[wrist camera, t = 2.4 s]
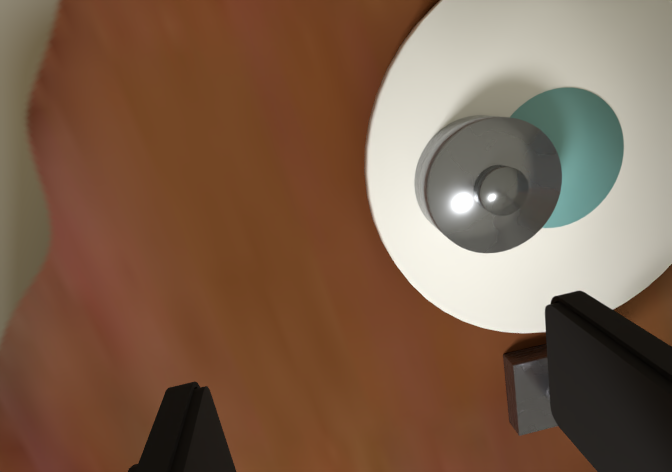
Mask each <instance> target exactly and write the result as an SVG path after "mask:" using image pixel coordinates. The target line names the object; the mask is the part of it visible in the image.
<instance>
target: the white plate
mask: <svg viewBox="0 0 672 472" xmlns="http://www.w3.org/2000/svg"><path fill="white" fill-rule="evenodd" d="M475 115H487V116H499V117H509V118H516V119H520V120H523V121H526V122H528V123H530V124H532V125H534V126H536V127H537V128H539V129H540V130H541V131H542V132H543V133H544V134H546V135H547V137H548V138H549V139H550V140H551V142H552V143H553V145H554V147H555V149H556V151H557V153H558V156H559V159H560V163H561V169H562V185H561V192H560V195H559V199H558V202H557V204H556V207H555V209H554V211H553V213H552V215H551V217H550V218H549V219H548V221H547V222H546V224H545V225H544V226H543V227H542V228H541V229H540V231H538V232H537V233H536V234H535V235H534V236H533V237H532V238H530V239H529V240H527V241H526V242H524V243H523V244H521V245H519V246H517V247H515V248H512V249H510V250H506V251H503V252H497V253H477V252H473V251H469V250H466V249H464V248H461V247H460V246H458V245H456V244H454V243H453V242H452V241H451V240H449V239H448V238H447V237H446V236H445V235H443V234H442V233H441V232H440V231H439V230H438V229H437V228H435V227H434V226H433V225H432V224H431V223H430V222H429V221H428V220H427V219H426V217H425V216H424V214H423V213H422V211H421V209H420V207H419V205H418V202H417V199H416V194H415V186H414V181H415V172H416V167H417V164H418V160H419V158H420V156H421V154H422V151H423V150H424V148H425V147H426V145H427V144H428V142H429V141H430V140H431V139H432V137H433V136H434V135H435V134H436V133H437V132H438V131H440V130H441V129H442V128H444V127H445V126H447V125H448V124H450V123H452V122H454V121H456V120H458V119H461V118H464V117H468V116H475ZM364 173H365V183H366V192H367V198H368V202H369V206H370V210H371V214H372V219H373V221H374V224H375V226H376V229H377V231H378V234H379V236H380V239H381V241H382V242H383V244H384V246H385V248H386V249H387V251H388V253H389V255H390V256H391V258H392V260H393V261H394V262H395V264H396V265H397V267H398V268H399V269H400V270H401V272H402V273H403V274H404V276H405V277H406V278H407V279H408V281H409V282H410V283H411V284H412V285H413V286H414V287H415V288H416V289H417V290H418V291H419V292H420V293H421V294H422V295H423V296H424V297H425V298H426V299H427V300H429V301H430V302H431V303H433V304H434V305H436V306H437V307H438V308H440V309H441V310H443V311H444V312H446V313H448V314H450V315H452V316H454V317H456V318H458V319H460V320H462V321H464V322H467V323H470V324H473V325H476V326H478V327H481V328H486V329H491V330H496V331H501V332H512V333H536V332H546V326H545V307H546V306H547V305H549V304H551V300H552V298H553V297H554V296H558V295H562V294H566V293H571V292H575V291H583V292H585V293H587V294H588V295H590V296H591V297H593V298H595V299H596V300H598V301H599V302H601V303H603V304H604V305H606V306H607V307H609V308H611V309H612V310H613V309H615V308H617V307H618V306H620V305H622V304H624V303H625V302H627V301H628V300H630V299H631V298H633V297H634V296H636V295H637V294H638V293H640V292H641V291H643V290H644V289H645V288H646V287H648V286H649V285H650V284H651V283H652V282H653V281H654V280H656V279H657V278H658V277H659V276H660V275H661V274H662V273H663V272H664V271H665V270H666V269H667V268H668V267H669V266H670V265H671V264H672V0H440V1H439V2H438V3H436V4H435V5H434V6H433V8H432V9H431V10H430V11H429V12H428V13H427V14H426V15H425V16H424V17H423V18H422V19H421V20H420V21H419V22H418V23H417V24H416V26H415V27H414V28H413V30H412V31H411V32H410V34H409V35H408V36H407V38H406V39H405V40H404V42H403V43H402V44H401V46H400V47H399V49H398V51H397V53H396V54H395V56H394V58H393V60H392V61H391V63H390V65H389V67H388V68H387V70H386V72H385V75H384V77H383V80H382V82H381V84H380V87H379V89H378V92H377V94H376V97H375V100H374V104H373V108H372V111H371V115H370V118H369V123H368V129H367V136H366V143H365V164H364Z"/></svg>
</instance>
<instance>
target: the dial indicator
mask: <svg viewBox="0 0 672 472" xmlns="http://www.w3.org/2000/svg"><path fill="white" fill-rule="evenodd" d="M503 358H504V369H505V380H506V390H507V401H508V412H509V422H510V423H511V425H512V426H513V428H514V429H515V430H516V432H517V433H518V435H519V436H520V435H524V434H528V433H532V432H536V431H540V430H543V429H547V428H551V427H555V426H558V425H557V423H556V422H555V420H554V418H553V415H552V412H551V408H550V392H549V376H548V359H547V344H544V345H540V346H536V347H532V348H528V349H524V350H519V351H515V352H511V353H507V354H503Z"/></svg>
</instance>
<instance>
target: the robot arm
mask: <svg viewBox="0 0 672 472" xmlns="http://www.w3.org/2000/svg"><path fill="white" fill-rule="evenodd" d="M545 326H546V342H547V359H548V376H549V392H550V408H551V412H552V415H553V418H554V420H555V422H556V423H557V425H558V426H559V427H560V428H561V430H562V431H563V432H564V433H565V434H566V435H567V437H568V438H569V439H570V440H571V441H572V442H573V444H574V445H575V446H576V447H577V448H578V449H579V451H580V452H581V453H582V454H583V455H584V456H585V457H586V459H587V460H588V461H589V462H590V463H591V464H592V466H593V467H594V468H595V469H596V470H597V471H598V472H672V347H671V346H670V345H668V344H666V343H665V342H663V341H662V340H660V339H658V338H657V337H655V336H654V335H652V334H650V333H649V332H647V331H646V330H644V329H642V328H641V327H639V326H638V325H636V324H634V323H633V322H631V321H630V320H628V319H626V318H625V317H623V316H622V315H620V314H618V313H617V312H615V311H614V310H612V309H611V308H609V307H607V306H606V305H604V304H603V303H601V302H599V301H598V300H596V299H595V298H593V297H591V296H590V295H588V294H587V293H585V292H583V291H575V292H571V293H566V294H562V295H558V296H554V297H553V298H552V300H551V304H549V305H547V306H546V307H545ZM128 472H236V470H235V466H234V463H233V460H232V457H231V454H230V451H229V448H228V445H227V442H226V439H225V436H224V433H223V429H222V426H221V423H220V420H219V417H218V414H217V411H216V408H215V405H214V402H213V399H212V396H211V393H210V390H209V388H208V387H207V386H205V387H201V388H200V386H199V385H198V383H197V382H191V383H187V384H183V385H179V386H175V387H170V388H168V389H167V390H166V392H165V395H164V398H163V400H162V403H161V405H160V408H159V411H158V413H157V416H156V419H155V421H154V424H153V427H152V429H151V432H150V434H149V437H148V440H147V442H146V445H145V448H144V450H143V453H142V456H141V458H140V461H139V463H138V464H135V465H133V466H132V467H131V468H129V470H128Z"/></svg>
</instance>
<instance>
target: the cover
mask: <svg viewBox="0 0 672 472" xmlns="http://www.w3.org/2000/svg"><path fill="white" fill-rule="evenodd" d="M561 185H562V169H561V163H560V159H559V156H558V153H557V151H556V149H555V147H554V145H553V143H552V142H551V140H550V139H549V138H548V137H547V135H546V134H544V133H543V132H542V131H541V130H540V129H539V128H537V127H536V126H534V125H532V124H530V123H528V122H526V121H523V120H520V119H516V118H509V117H499V116H487V115H475V116H468V117H464V118H461V119H458V120H456V121H454V122H452V123H450V124H448V125H447V126H445V127H444V128H442V129H441V130H440V131H438V132H437V133H436V134H435V135H434V136H433V137H432V139H431V140H430V141H429V142H428V144H427V145H426V147H425V148H424V150H423V151H422V154H421V156H420V158H419V160H418V164H417V167H416V172H415V181H414V186H415V194H416V199H417V202H418V205H419V207H420V209H421V211H422V213H423V214H424V216H425V217H426V219H427V220H428V221H429V222H430V223H431V224H432V225H433V226H434V227H435V228H437V229H438V230H439V231H440V232H441V233H442V234H443V235H445V236H446V237H447V238H448V239H449V240H451V241H452V242H453V243H454V244H456V245H458V246H460V247H461V248H464V249H466V250H469V251H473V252H477V253H497V252H503V251H506V250H510V249H512V248H515V247H517V246H519V245H521V244H523V243H524V242H526V241H527V240H529V239H530V238H532V237H533V236H534V235H535V234H536V233H537V232H538V231H540V229H541V228H542V227H543V226H544V225H545V224H546V222H547V221H548V219H549V218H550V217H551V215H552V213H553V211H554V209H555V207H556V204H557V202H558V199H559V195H560V192H561Z"/></svg>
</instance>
